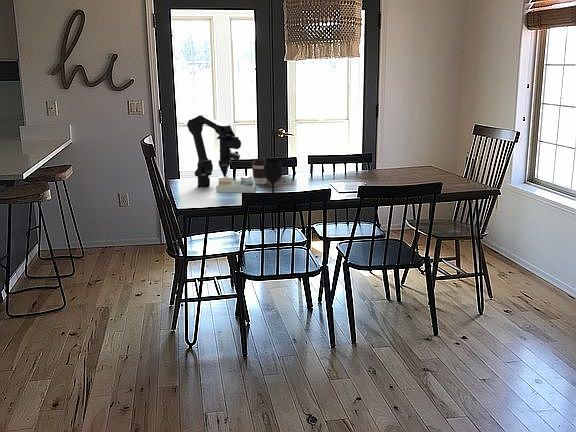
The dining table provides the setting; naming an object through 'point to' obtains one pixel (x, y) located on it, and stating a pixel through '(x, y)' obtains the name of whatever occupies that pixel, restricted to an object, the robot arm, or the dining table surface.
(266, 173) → the wine glass
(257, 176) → the coffee cup
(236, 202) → the dining table surface
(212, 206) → the dining table surface
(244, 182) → the tin can
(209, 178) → the robot arm
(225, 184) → the taped carton
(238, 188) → the tote
